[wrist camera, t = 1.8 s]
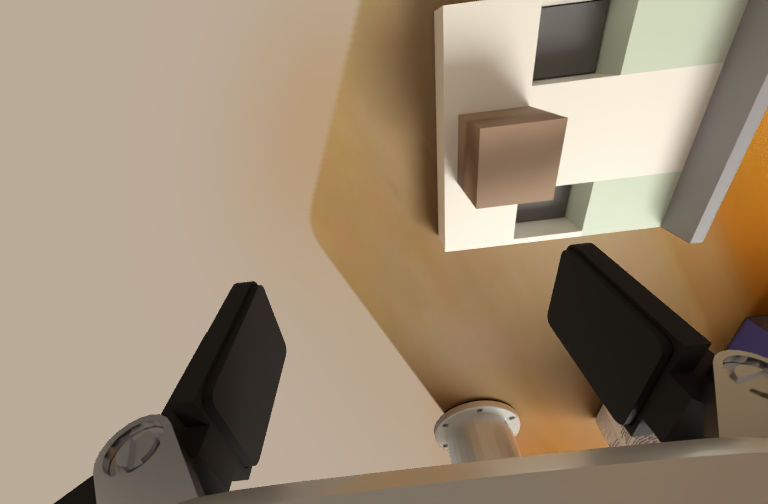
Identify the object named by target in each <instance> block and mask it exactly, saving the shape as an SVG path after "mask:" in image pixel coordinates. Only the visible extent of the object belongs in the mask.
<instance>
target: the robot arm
mask: <svg viewBox="0 0 768 504" xmlns="http://www.w3.org/2000/svg"><path fill="white" fill-rule="evenodd" d="M547 316H548V322H549V324H550V326H551V328H552V329H553V331H554V332H555V334H556V335H557V336H558V338H559V339H560V341H561V342H562V344H563V345H564V347H565V348H566V350H567V351H568V353H569V354H570V356H571V357H572V359H573V360H574V361H575V363H576V364H577V366H578V367H579V369H580V370H581V372H582V373H583V375H584V376H585V378H586V379H587V381H588V382H589V384H590V385H591V386H592V388H593V389H594V391H595V392H596V394H597V395H598V397H599V398H600V400H601V401H602V403H603V404H604V406H605V407H606V409H607V410H608V411H609V413H610V414H611V416H612V417H613V419H614V420H615V421H616V422H617V423H618V424H620V425H623V426H624V427H625V429H626V430H627V431H628V433H629V434H630V436H631V437H638V436H647V435H653V433H654V434H655V436H656V437H657V438H658V440H659V441H660V443H648V444H637V445H627V446H618V447H608V448H599V449H589V450H580V451H570V452H561V453H551V454H542V455H532V456H523V457H522V455H521V452H520V449H519V447H518V444H517V442H516V439H515V436H516V435H517V433H518V432H519V429H520V420H519V417H518V415H517V413H516V411H515V410H514V409H513V408H512V407H510V406H508V405H507V404H504V403H501V402H497V401H486V400H483V401H474V402H469V403H465V404H462V405H459V406H457V407H454V408H452V409H451V410H449V411H447V412H446V413H445V414H443V415H442V416H441V417H440V419H439V420H438V421H437V423H436V425H435V428H434V433H435V438H436V441H437V443H438V444H439V445H440V446H441V447H442V448H443V449H445V450H447V451H449V454H450V458H451V463H452V464H450V465H441V466H432V467H423V468H414V469H406V470H396V471H388V472H380V473H371V474H363V475H355V476H354V475H353V476H345V477H336V478H328V479H320V480H311V481H302V482H294V483H286V484H279V485H271V486H265V487H257V488H249V489H242V490H235V491H229V489H230V486H231V482H232V481H240V480H248V479H249V476H250V473H251V469H252V466H255V465H257V463H258V461H259V459H260V455H261V451H262V447H263V443H264V439H265V435H266V432H267V428H268V424H269V420H270V415H271V412H272V408H273V404H274V400H275V396H276V392H277V388H278V384H279V380H280V376H281V372H282V368H283V364H284V360H285V357H286V345H285V342H284V339H283V337H282V334H281V332H280V329H279V326H278V324H277V321H276V318H275V316H274V313H273V311H272V308H271V306H270V303H269V300H268V298H267V295H266V293H265V290H264V288H263V286H261V285H257V283H255V282H254V281H253V282H244V283H236V284H234V285H233V287H232V289H231V290H230V292H229V294H228V296H227V298H226V299H225V301H224V303H223V305H222V307H221V308H220V310H219V312H218V314H217V316H216V318H215V320H214V321H213V323H212V325H211V326H210V328H209V330H208V332H207V333H206V334H205V336H204V338H203V340H202V341H201V343H200V345H199V347H198V349H197V350H196V352H195V354H194V356H193V358H192V359H191V361H190V363H189V365H188V367H187V368H186V370H185V372H184V374H183V376H182V377H181V379H180V381H179V383H178V385H177V386H176V388H175V390H174V392H173V394H172V395H171V397H170V399H169V401H168V403H167V404H166V406H165V408H164V410H163V412H162V413H161V415H160V414H158V415H148V416H145V417H141V418H139V419H137V420H135V421H133V422H131V423H129V424H128V425H127V426H125V427H124V428H122V429H121V430H119V431H118V432H117V433H116V434H115V435H114V436H113V437H112V438H111V439H110V440H109V441H108V442H107V443H106V445H105V446H104V447H103V449H102V450H101V451H100V453H99V455H98V457H97V459H96V461H95V464H94V471H93V476H91V477H90V478H89V479H87V480H86V481H84V482H83V483H82V484H80V485H79V486H78V487H76V488H75V489H73V490H72V491H71V492H69V493H68V494H66V495H65V496H64V497H62V498H61V499H60V500H58V501H57V502H56V503H54V504H768V358H765V357H762V356H760V355H757V354H754V353H750V352H745V351H741V350H725V351H720V352H719V353H717V354H716V355H714V354H713V353H712V352H711V351H710V350H709V349H708V348H709V346H710V345H711V342H709V341H708V340H707V339H706V338H705V337H703V336H702V335H701V334H700V333H699V332H697V331H696V330H695V329H694V328H693V327H691V326H690V325H689V324H688V323H687V322H686V321H684V320H683V319H682V318H681V317H680V316H678V315H677V314H676V313H675V312H674V311H672V310H671V309H670V308H669V307H668V306H666V305H665V304H664V303H663V302H662V301H661V300H659V299H658V298H657V297H656V296H655V295H653V294H652V293H651V292H650V291H649V290H647V289H646V288H645V287H644V286H643V285H641V284H640V283H639V282H638V281H637V280H636V279H634V278H633V277H632V276H631V275H630V274H628V273H627V272H626V271H625V270H624V269H622V268H621V267H620V266H619V265H618V264H616V263H615V262H614V261H613V260H612V259H611V258H609V257H608V256H607V255H606V254H605V253H603V252H602V251H601V250H600V249H599V248H597V247H596V246H595V245H594V244H592V243H583V244H574V245H570V246H568V248H567V250H565V251H563V252H562V255H561V259H560V263H559V267H558V272H557V276H556V280H555V284H554V289H553V293H552V297H551V302H550V306H549V310H548V315H547Z"/></svg>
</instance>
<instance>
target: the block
mask: <svg viewBox="0 0 768 504" xmlns="http://www.w3.org/2000/svg"><path fill="white" fill-rule="evenodd" d="M567 121H568V118H567V117H564V116H560V115H557V114H554V113H551V112H547V111H544V110H541V109H537V108H534V107H531V106H526V107H518V108H510V109H502V110H493V111H485V112H477V113H469V114H461V115H458V172H457V183H458V185H459V186H460V187H461V189H462V190H463V192H464V193H465V194H466V196H467V197H468V198H469V200H470V201H471V203H472V204H473V205H474V207H475V208H476V209H481V208H489V207H498V206H506V205H514V204H523V203H531V202H539V201H548V200H553V198H554V192H555V187H556V181H557V176H558V170H559V165H560V159H561V154H562V148H563V143H564V137H565V132H566V126H567Z"/></svg>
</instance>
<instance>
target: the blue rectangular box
mask: <svg viewBox="0 0 768 504" xmlns="http://www.w3.org/2000/svg"><path fill="white" fill-rule="evenodd" d="M726 350H741V351H745V352H750V353H754V354H757V355H760V356H762V357H765V358H768V315H764V316H756V317H748V318H745V320H744V322H743V323H742V325H741V326H740V328H739V329H738V331H737V333H736V334H735V336H734V337H733V339H732V340H731V342H730V343H729V345H728V347H727V348H726Z"/></svg>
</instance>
